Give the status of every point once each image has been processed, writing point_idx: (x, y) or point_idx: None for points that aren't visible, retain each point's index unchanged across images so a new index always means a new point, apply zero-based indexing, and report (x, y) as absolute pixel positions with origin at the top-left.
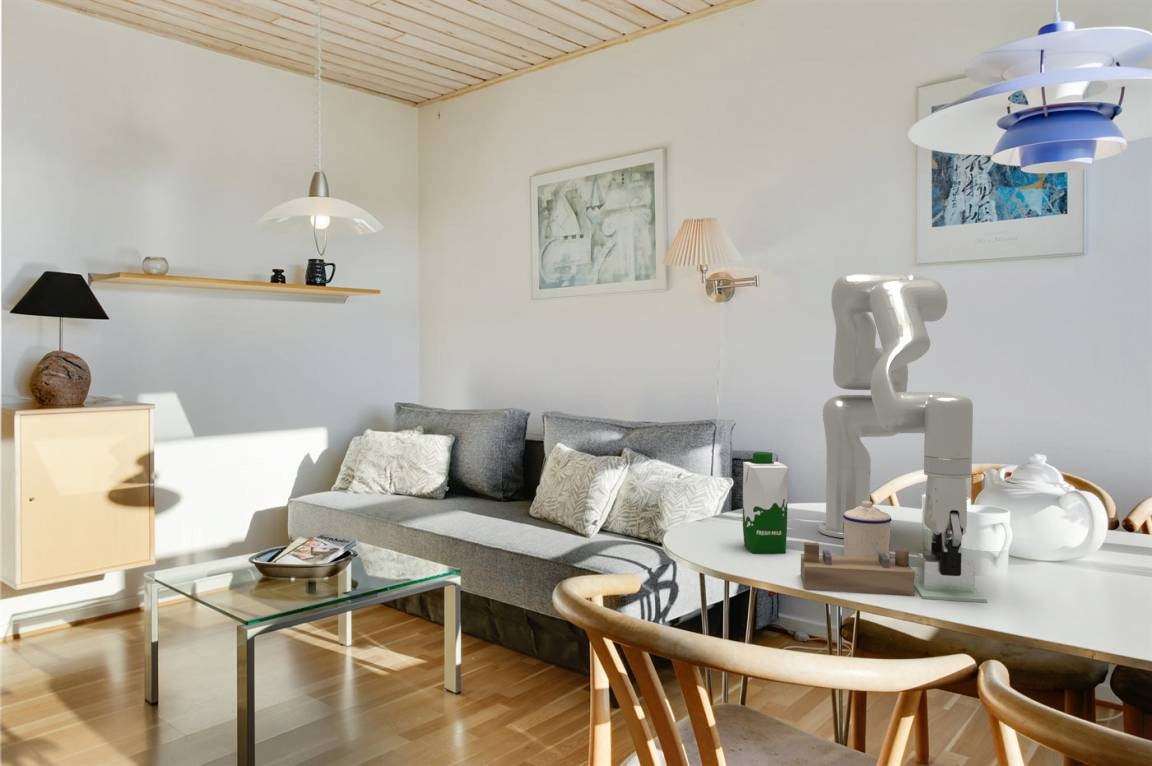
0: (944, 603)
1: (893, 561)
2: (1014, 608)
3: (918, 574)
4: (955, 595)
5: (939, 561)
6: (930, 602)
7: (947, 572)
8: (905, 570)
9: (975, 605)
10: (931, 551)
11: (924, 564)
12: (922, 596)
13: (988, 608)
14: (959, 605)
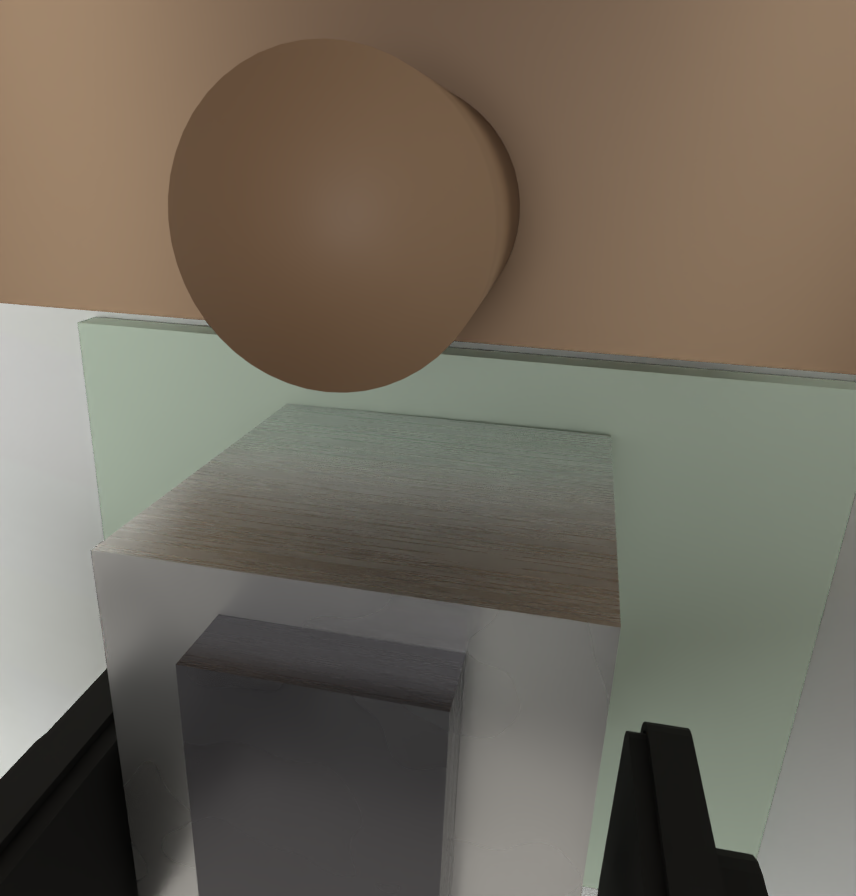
0: (27, 472)
1: (660, 104)
2: None
3: (567, 465)
4: None
5: (157, 759)
6: (13, 360)
7: None
8: (63, 184)
9: (57, 682)
10: (698, 882)
11: (147, 527)
12: (85, 322)
13: (16, 734)
14: (15, 570)
